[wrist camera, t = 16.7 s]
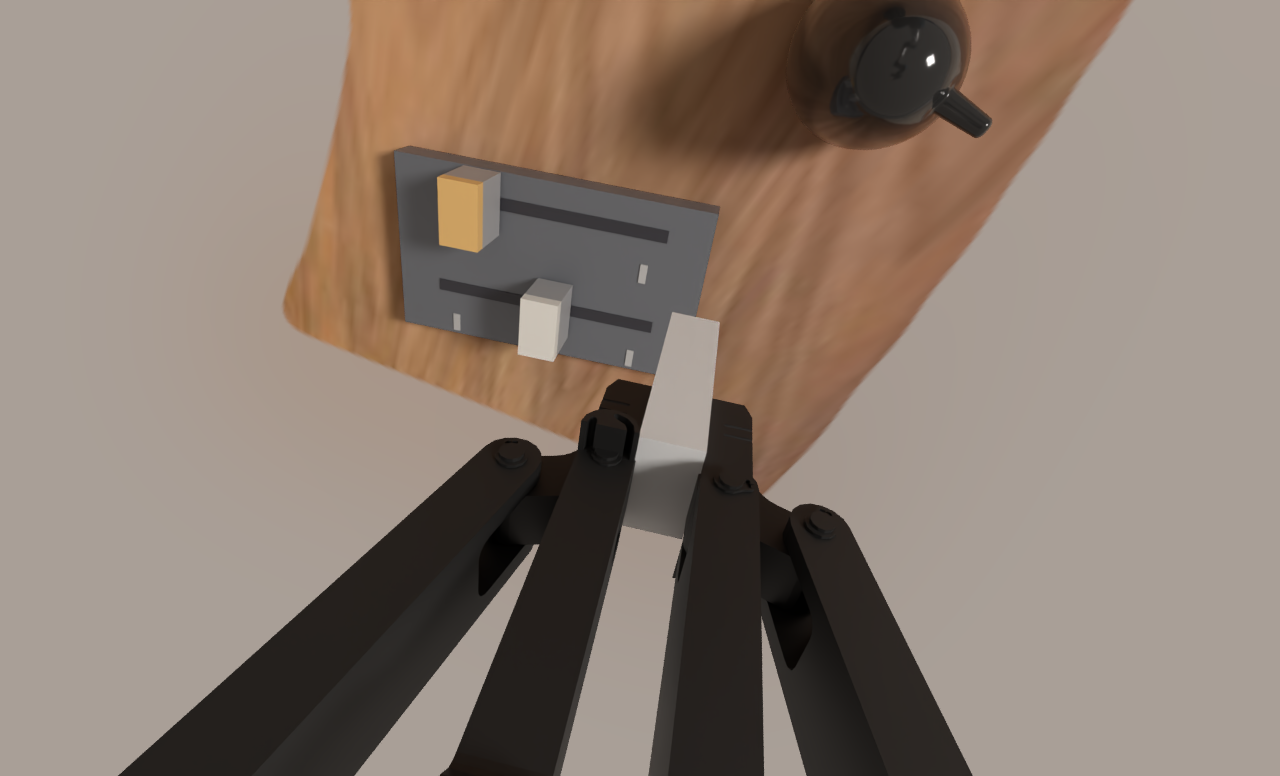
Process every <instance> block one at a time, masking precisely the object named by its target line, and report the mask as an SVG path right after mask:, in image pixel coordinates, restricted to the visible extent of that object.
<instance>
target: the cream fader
mask: <svg viewBox="0 0 1280 776" xmlns="http://www.w3.org/2000/svg"><path fill="white" fill-rule="evenodd" d="M572 288H573V285H570V284H565V283H560V282H555V281H550V280H545V279H540V278H538V279H537V280H536V281H535V282H534V284H533V285H532V286H531V287H530V288H529V289H528V290H527V292H526V293H525V294H524V295H523V296H522V297H521V299H520V320H519V341H518V354H519V355H523V356H528V357H533V358H538V359H542V360H547V361H552V362H553V361H554V360H555V358H556V356H557V355H558V353H559V351H560V350H561V348H562V346H563V345H564V343H565V341H566V339H567V338H568V328H569V318H570V308H571V298H572Z"/></svg>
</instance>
